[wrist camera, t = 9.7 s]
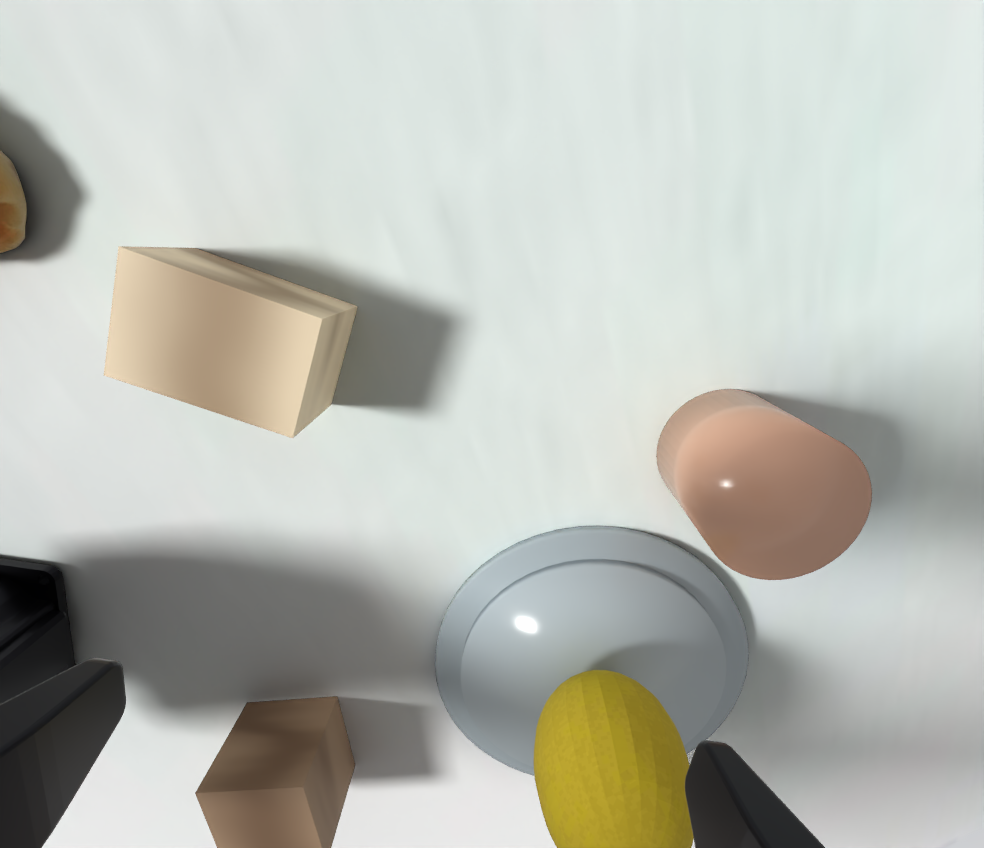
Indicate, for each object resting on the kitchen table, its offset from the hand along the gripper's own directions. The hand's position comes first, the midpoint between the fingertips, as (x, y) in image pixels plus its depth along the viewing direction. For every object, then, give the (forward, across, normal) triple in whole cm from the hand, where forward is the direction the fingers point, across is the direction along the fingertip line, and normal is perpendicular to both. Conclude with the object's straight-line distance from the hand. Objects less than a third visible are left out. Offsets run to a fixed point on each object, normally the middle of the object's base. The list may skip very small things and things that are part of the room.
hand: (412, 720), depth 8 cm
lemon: (+12, -7, +10) cm, 17 cm away
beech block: (+13, +8, -3) cm, 16 cm away
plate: (+13, -7, +10) cm, 18 cm away
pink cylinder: (+13, -10, -1) cm, 17 cm away
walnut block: (+13, +6, +17) cm, 22 cm away
